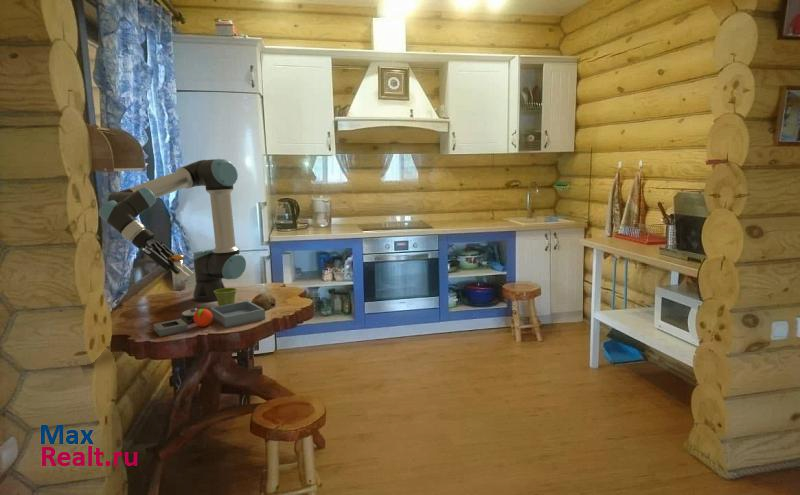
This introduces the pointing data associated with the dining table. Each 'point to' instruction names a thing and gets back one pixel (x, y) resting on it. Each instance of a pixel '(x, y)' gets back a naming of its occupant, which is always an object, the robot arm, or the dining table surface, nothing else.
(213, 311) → the tray
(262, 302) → the bread roll
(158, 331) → the tensioner
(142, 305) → the dining table surface
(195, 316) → the red tomato
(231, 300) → the plant pot
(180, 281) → the lock pin
